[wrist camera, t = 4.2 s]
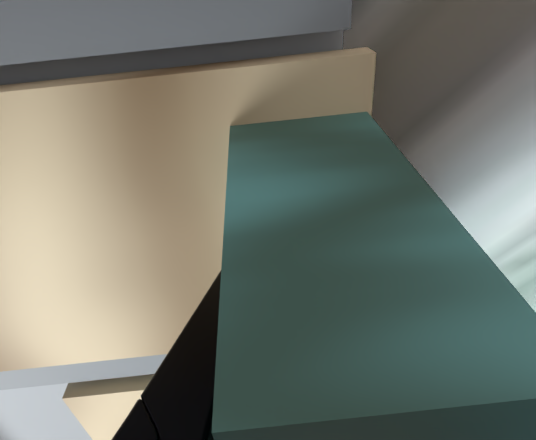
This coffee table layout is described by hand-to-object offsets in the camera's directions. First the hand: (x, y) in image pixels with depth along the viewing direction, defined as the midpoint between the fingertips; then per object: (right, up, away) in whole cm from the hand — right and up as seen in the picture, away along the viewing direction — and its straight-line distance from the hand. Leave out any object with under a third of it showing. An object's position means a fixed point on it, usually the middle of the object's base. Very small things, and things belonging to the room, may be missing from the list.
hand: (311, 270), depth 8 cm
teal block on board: (-9, 0, +1) cm, 9 cm away
